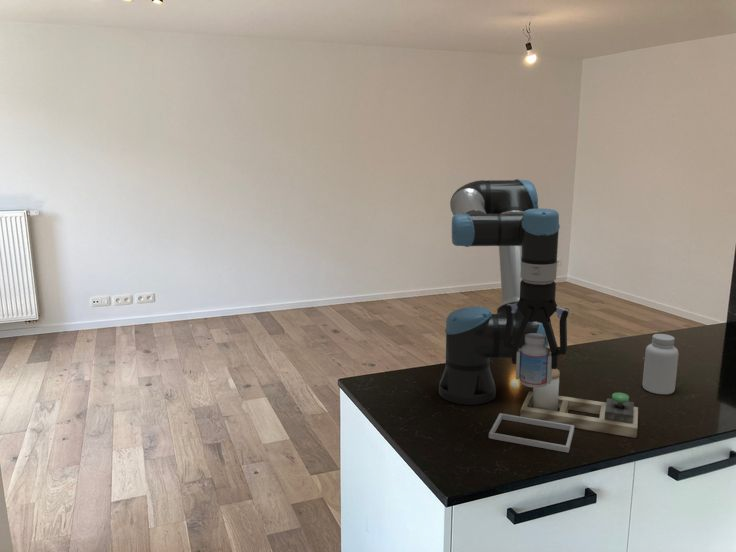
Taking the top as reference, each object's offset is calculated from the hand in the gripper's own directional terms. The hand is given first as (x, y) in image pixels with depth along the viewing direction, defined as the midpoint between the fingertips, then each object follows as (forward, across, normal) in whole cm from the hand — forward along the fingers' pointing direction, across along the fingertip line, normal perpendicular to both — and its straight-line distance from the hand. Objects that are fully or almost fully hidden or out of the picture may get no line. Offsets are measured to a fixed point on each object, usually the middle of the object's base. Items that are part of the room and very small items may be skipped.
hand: (533, 379), depth 134 cm
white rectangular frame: (+13, 0, -1) cm, 13 cm away
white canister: (+14, +1, +12) cm, 18 cm away
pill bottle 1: (+1, 0, 0) cm, 1 cm away
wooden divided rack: (+14, +9, +12) cm, 21 cm away
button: (+9, +18, +12) cm, 24 cm away
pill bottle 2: (+14, +27, +38) cm, 49 cm away
